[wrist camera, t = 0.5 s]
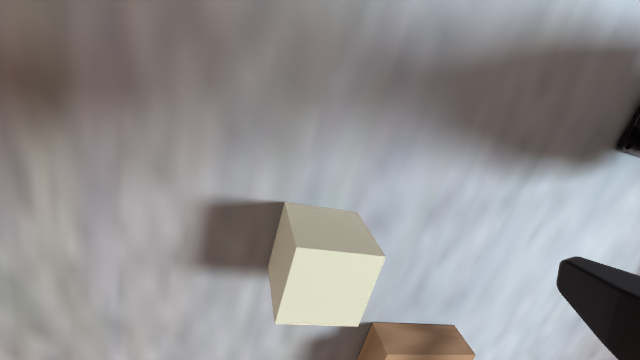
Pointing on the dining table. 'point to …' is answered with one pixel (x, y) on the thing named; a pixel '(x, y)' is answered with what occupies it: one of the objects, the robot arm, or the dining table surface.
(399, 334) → the tower base
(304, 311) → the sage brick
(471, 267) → the dining table surface
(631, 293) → the robot arm
